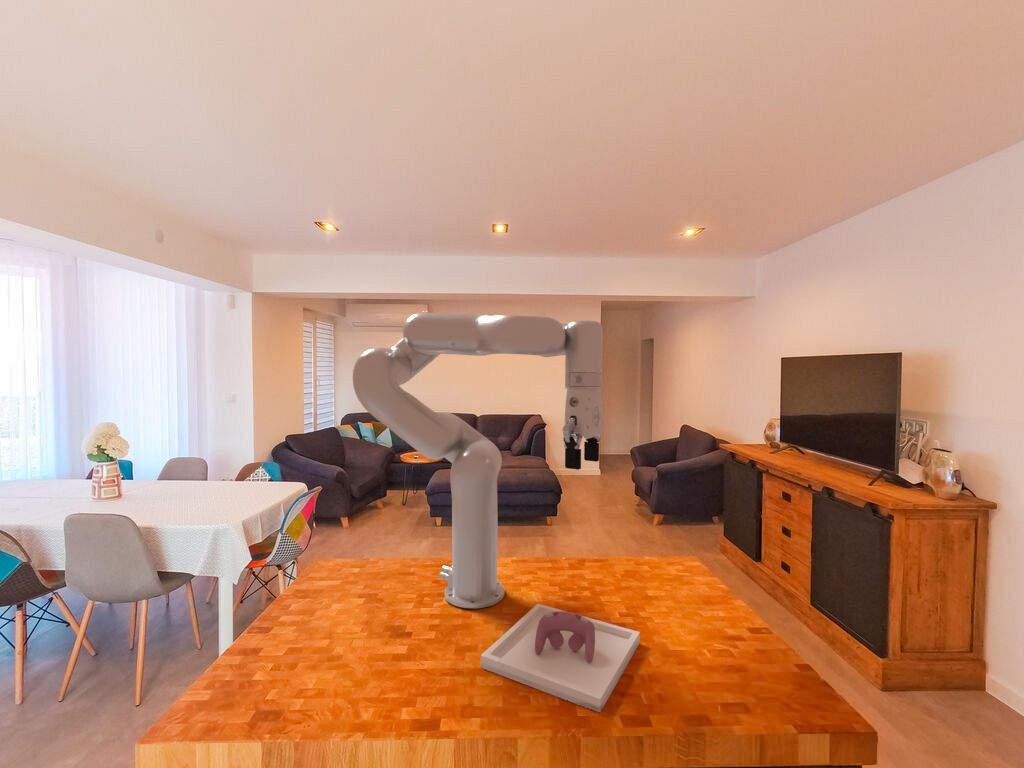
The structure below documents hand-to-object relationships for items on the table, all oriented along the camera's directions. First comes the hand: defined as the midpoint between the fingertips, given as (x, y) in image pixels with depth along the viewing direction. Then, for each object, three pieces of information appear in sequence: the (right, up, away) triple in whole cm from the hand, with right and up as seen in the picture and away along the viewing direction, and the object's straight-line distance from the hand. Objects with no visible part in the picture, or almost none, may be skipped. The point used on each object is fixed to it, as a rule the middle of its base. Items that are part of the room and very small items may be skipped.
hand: (582, 464), depth 100 cm
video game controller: (-6, -28, -19) cm, 34 cm away
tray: (-6, -29, -19) cm, 35 cm away
